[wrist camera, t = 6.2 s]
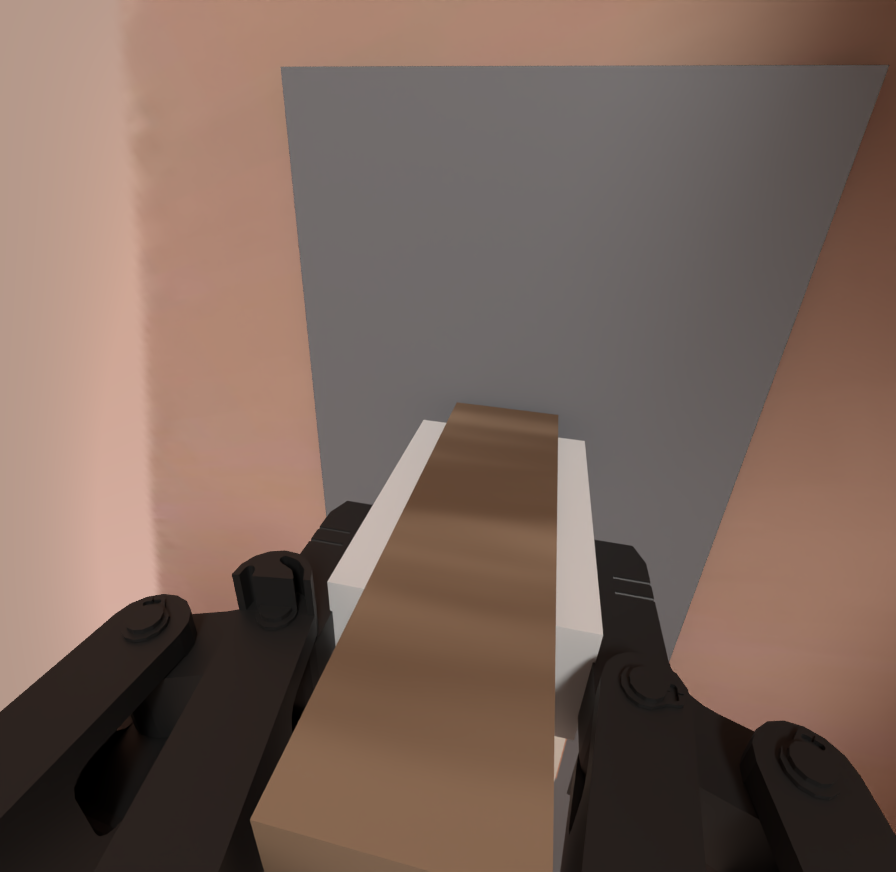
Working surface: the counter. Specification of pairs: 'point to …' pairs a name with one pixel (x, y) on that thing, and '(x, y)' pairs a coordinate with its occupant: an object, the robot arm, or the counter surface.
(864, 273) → the counter surface
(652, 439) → the grey board
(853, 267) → the counter surface
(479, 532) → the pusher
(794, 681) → the counter surface
